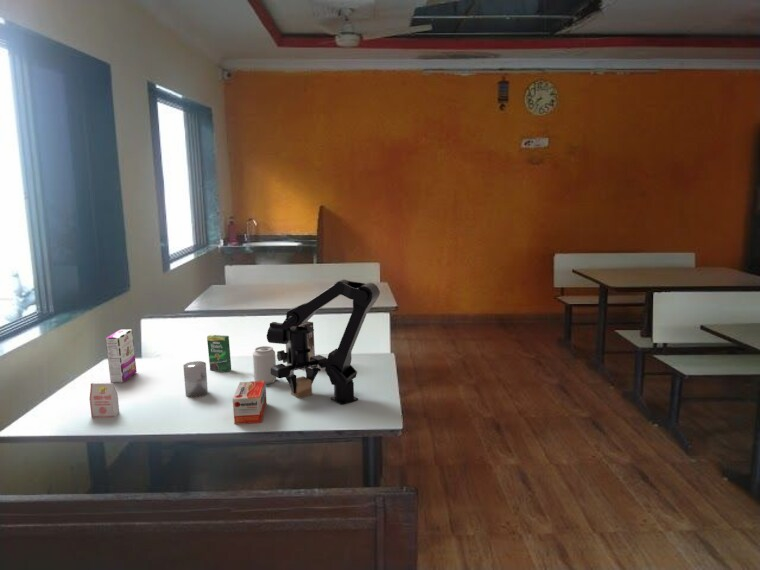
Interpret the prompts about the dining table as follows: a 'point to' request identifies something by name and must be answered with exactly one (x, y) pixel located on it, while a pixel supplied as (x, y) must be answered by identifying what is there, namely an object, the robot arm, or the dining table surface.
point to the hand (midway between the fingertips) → (301, 391)
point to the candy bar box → (121, 355)
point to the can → (264, 364)
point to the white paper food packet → (103, 400)
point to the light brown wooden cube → (303, 387)
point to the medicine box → (249, 402)
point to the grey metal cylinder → (195, 379)
